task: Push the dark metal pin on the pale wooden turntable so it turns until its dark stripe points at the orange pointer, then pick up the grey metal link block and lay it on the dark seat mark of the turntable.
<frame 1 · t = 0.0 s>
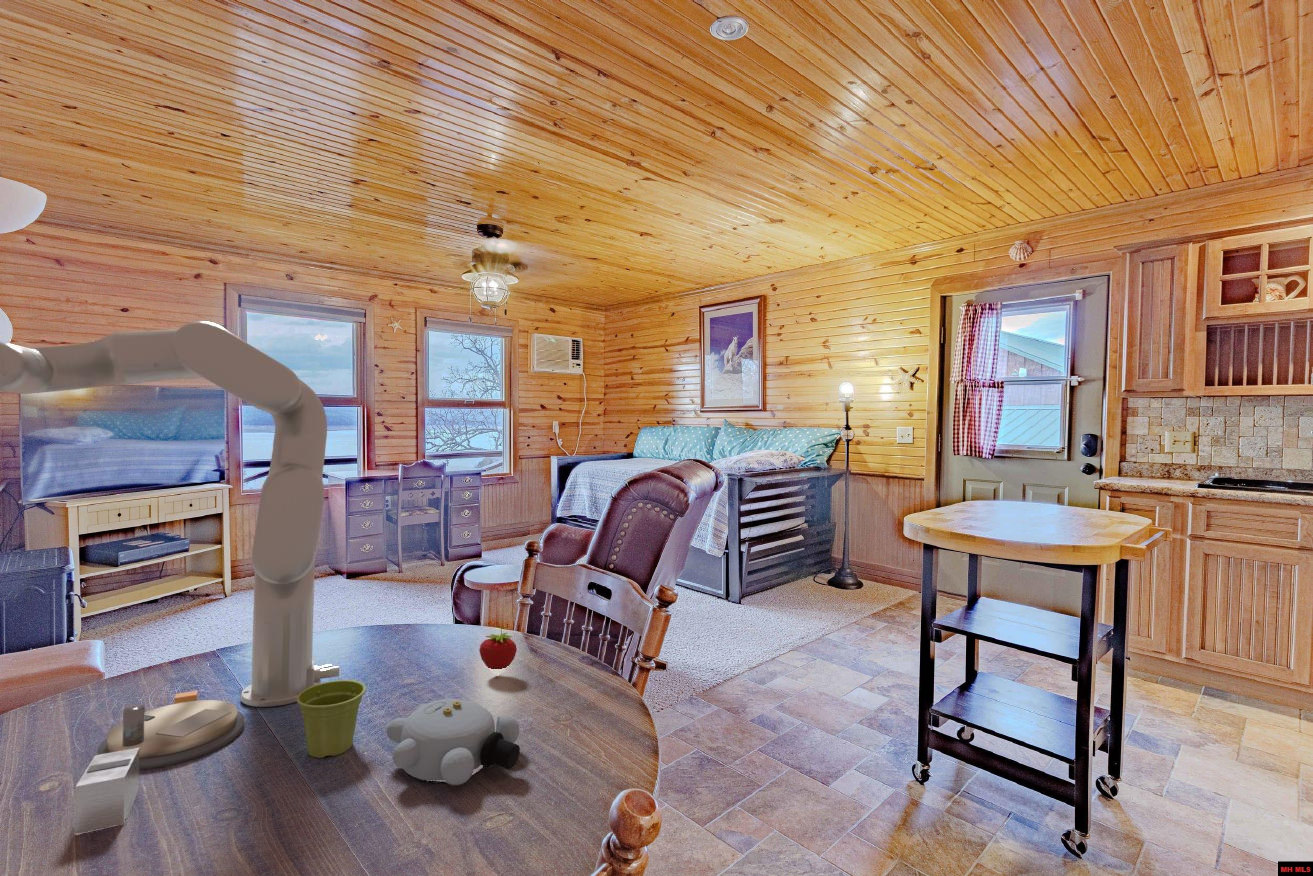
turntable base: (175, 738, 96), on the table
alarm clock: (456, 765, 91), on the table
turntable: (175, 710, 96), point 4 cm above the table, hinge at 0.0°
link block: (108, 813, 78), on the table
strawberry: (497, 677, 124), on the table
plant pot: (330, 749, 94), on the table
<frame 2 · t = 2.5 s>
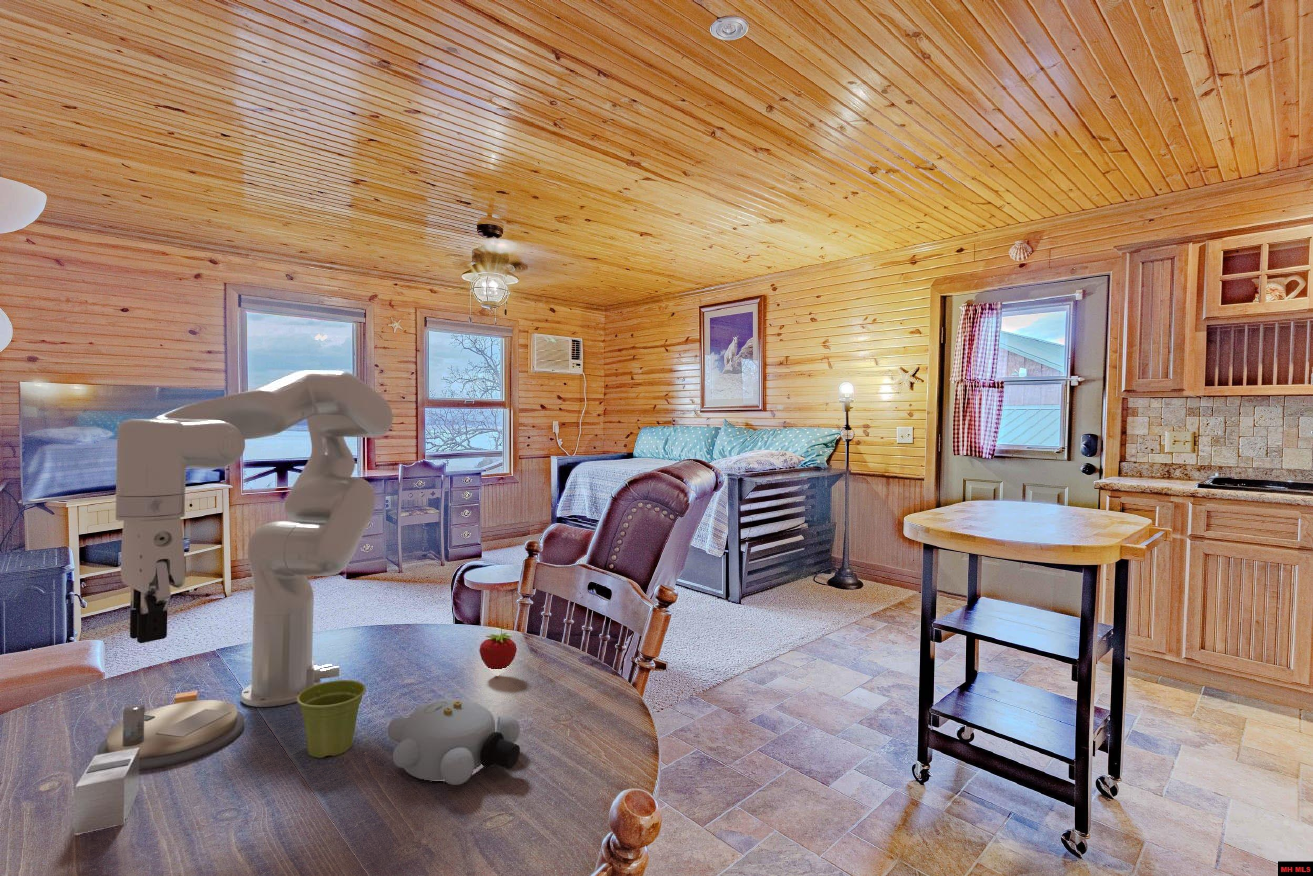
hand: (148, 637, 86), 19 cm above the table, tool pointing down, fingers closed
nothing on the table moved.
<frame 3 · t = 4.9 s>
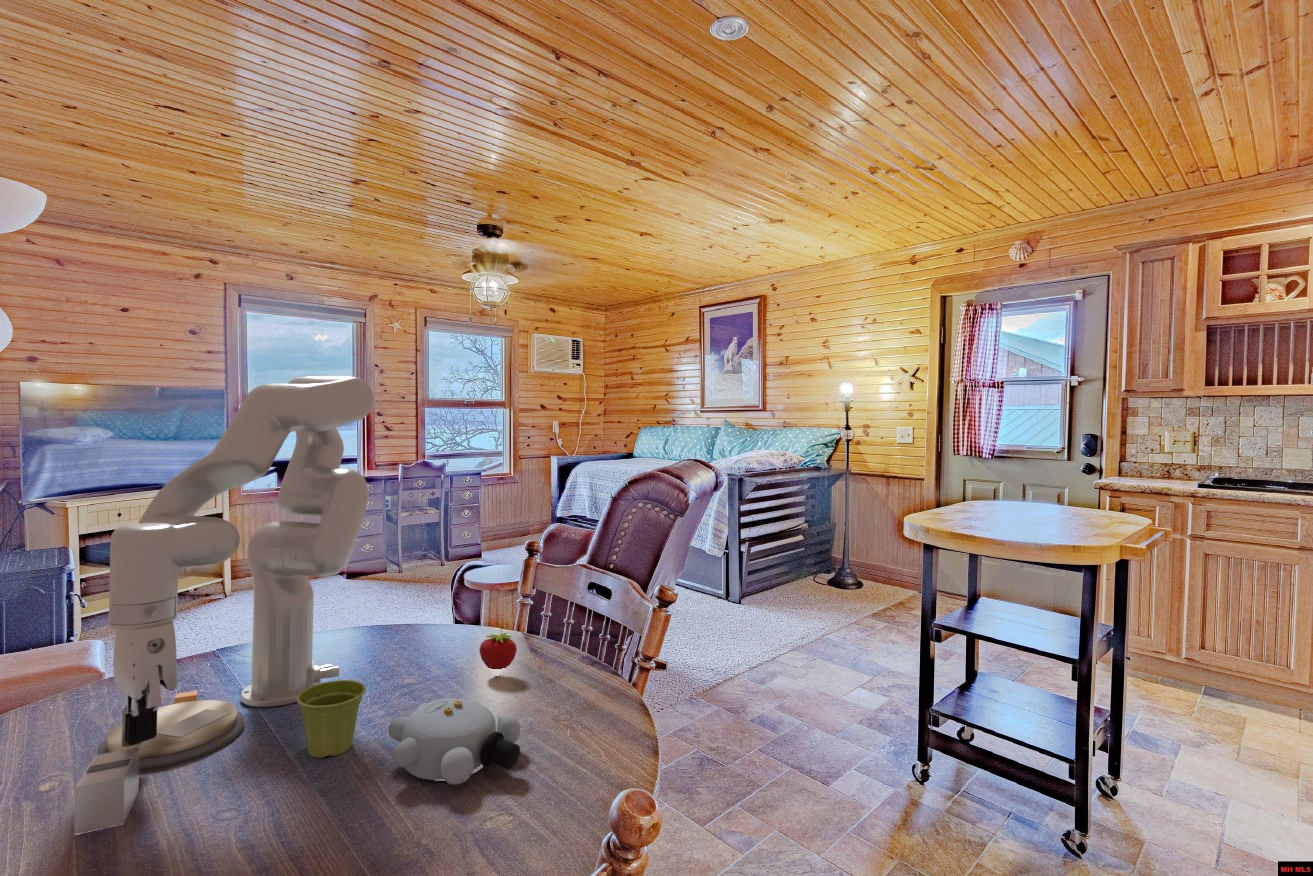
hand: (140, 739, 88), 4 cm above the table, tool pointing down, fingers closed
turntable: (175, 710, 96), point 4 cm above the table, hinge at -1.6°, touching gripper
everything else where it was.
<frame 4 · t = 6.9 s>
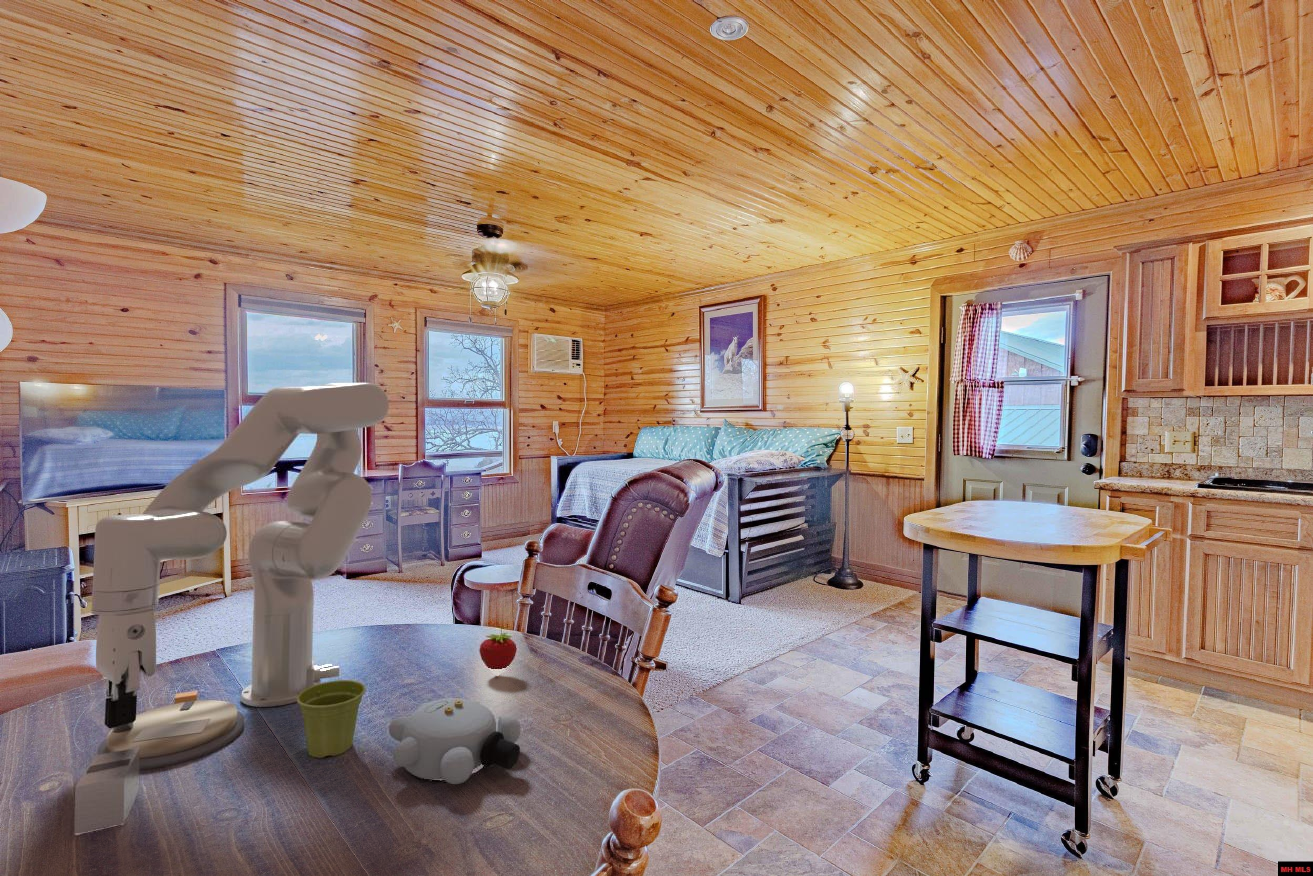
hand: (120, 723, 91), 5 cm above the table, tool pointing down, fingers closed
turntable: (175, 710, 96), point 4 cm above the table, hinge at -56.9°, touching gripper
everything else where it was.
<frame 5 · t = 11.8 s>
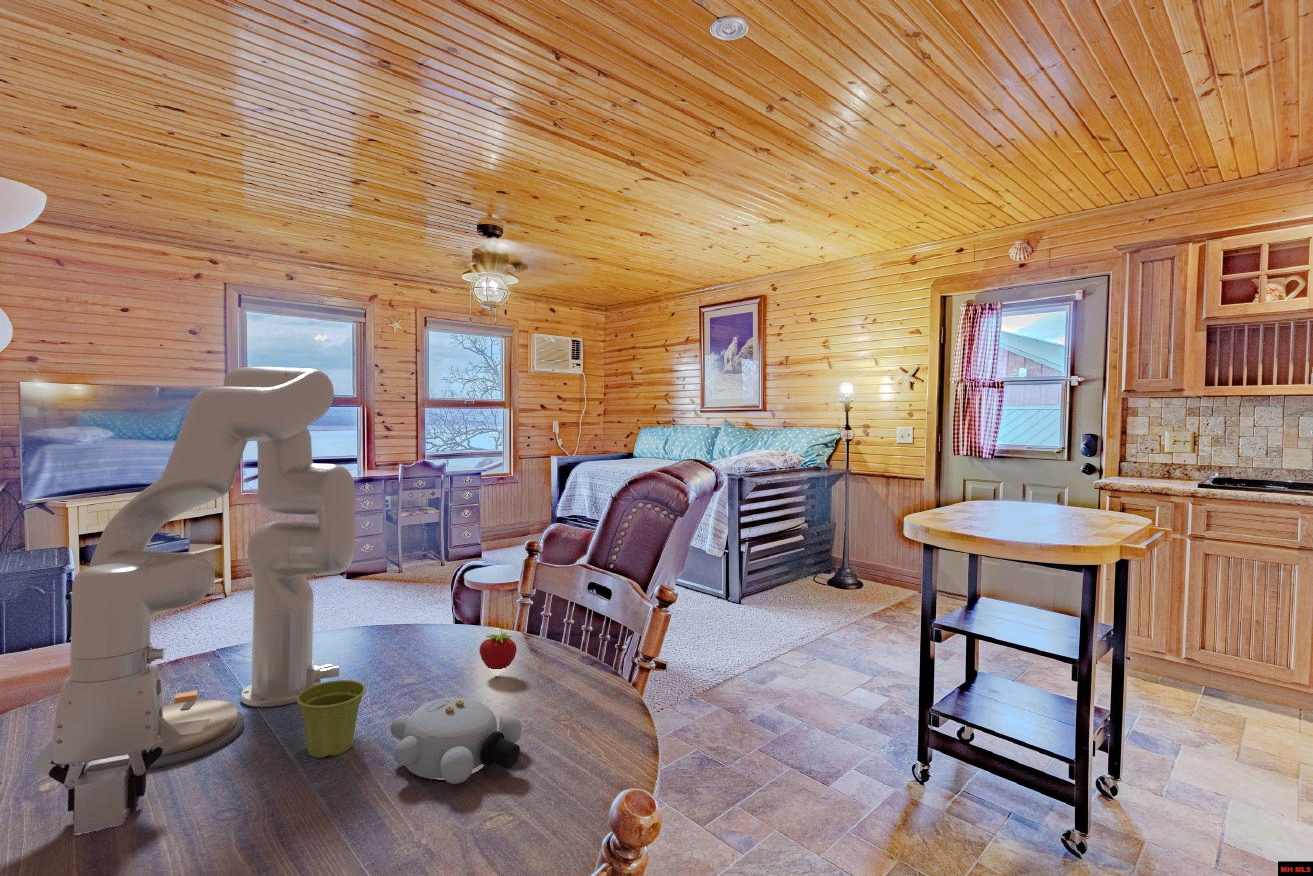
hand: (107, 807, 78), 1 cm above the table, tool pointing down, fingers closed on link block, 4 cm apart
turntable: (175, 710, 96), point 4 cm above the table, hinge at -57.9°
link block: (107, 813, 78), on the table, touching gripper
everything else where it was.
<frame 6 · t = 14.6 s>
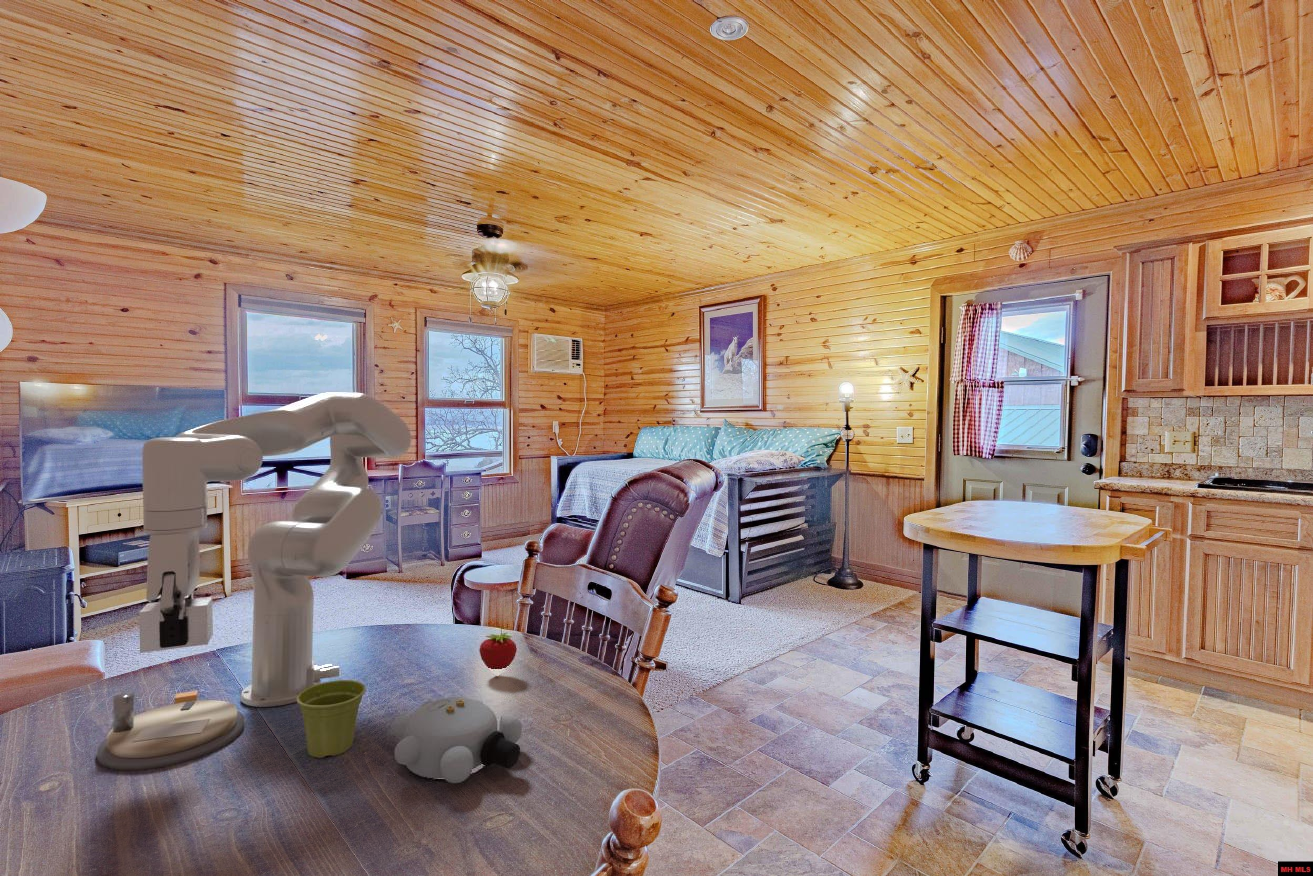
hand: (177, 638, 93), 17 cm above the table, tool pointing down, fingers closed on link block, 4 cm apart
link block: (177, 643, 93), point 16 cm above the table, touching gripper
everything else where it was.
when the fingers open (5 cm above the table, at t = 17.5 s): link block drops 1 cm, resting on turntable.
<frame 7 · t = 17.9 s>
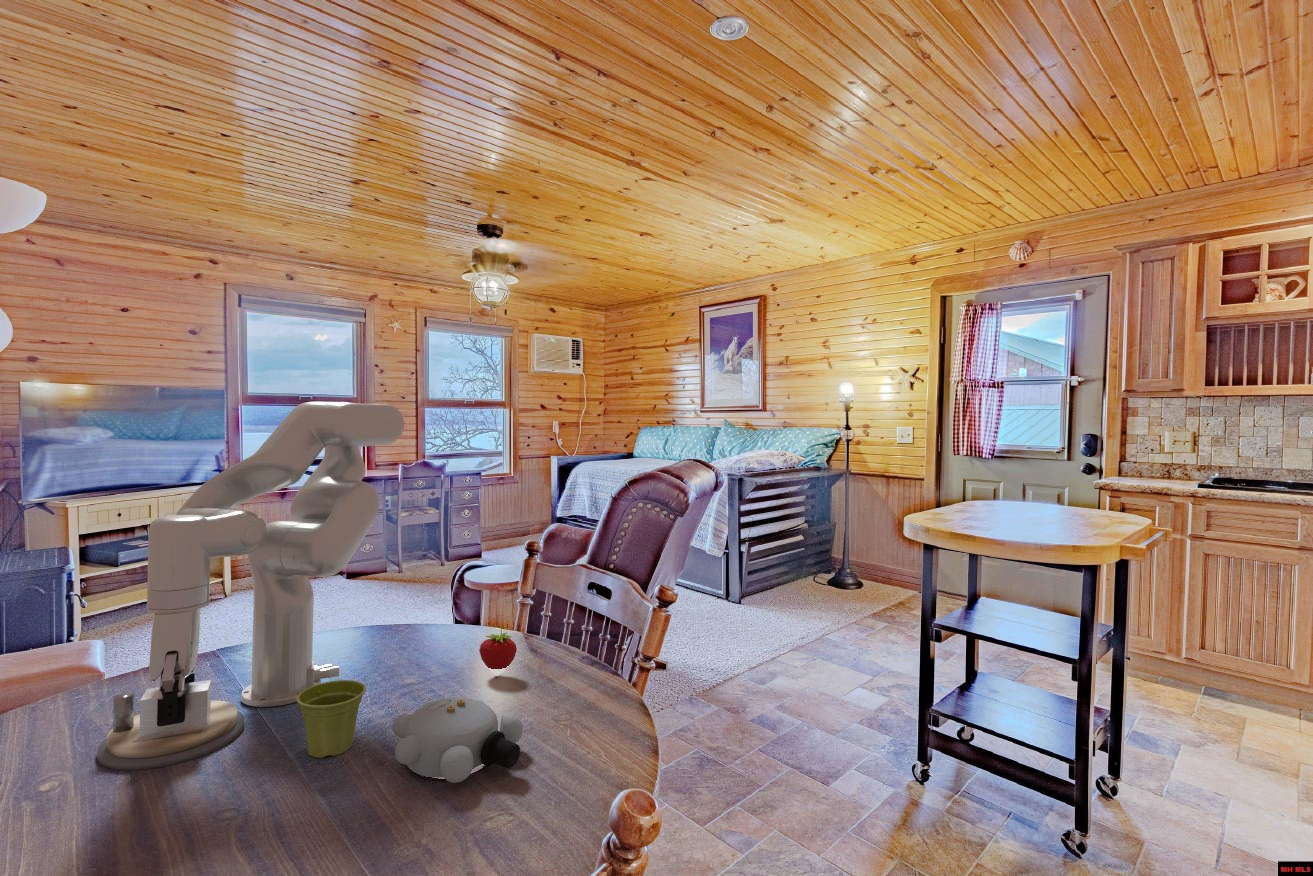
hand: (176, 711, 94), 5 cm above the table, tool pointing down, fingers open, 8 cm apart
turntable: (175, 710, 96), point 4 cm above the table, hinge at -57.9°, touching link block
link block: (176, 728, 94), point 3 cm above the table, touching turntable
everything else where it was.
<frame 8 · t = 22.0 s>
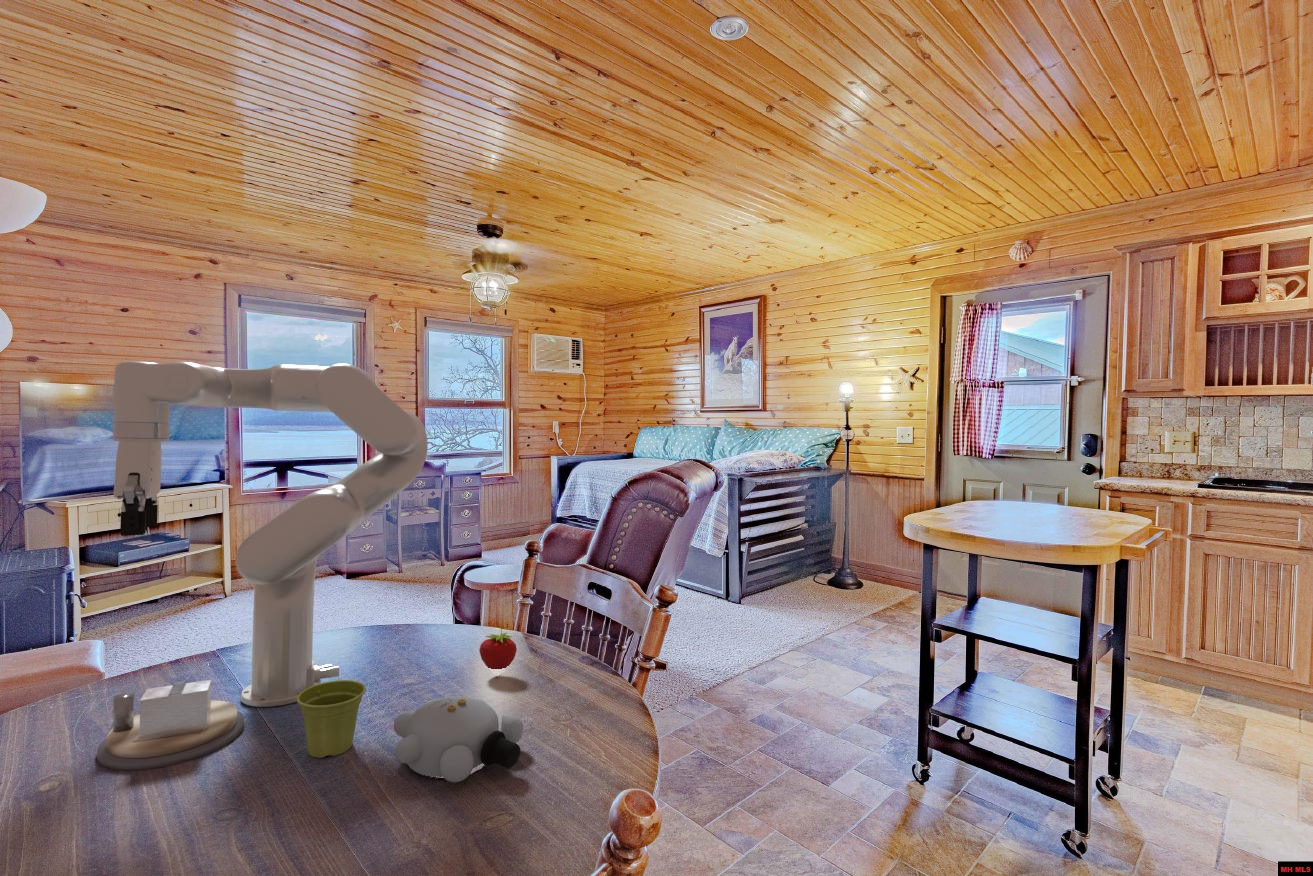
hand: (139, 530, 108), 30 cm above the table, tool pointing down, fingers open, 9 cm apart
nothing on the table moved.
at the end: turntable at -58° (first picture: +0°); link block 0.0 cm from the target spot on the turntable, point 2.7 cm above the turntable's base; link block tilted 0° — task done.
